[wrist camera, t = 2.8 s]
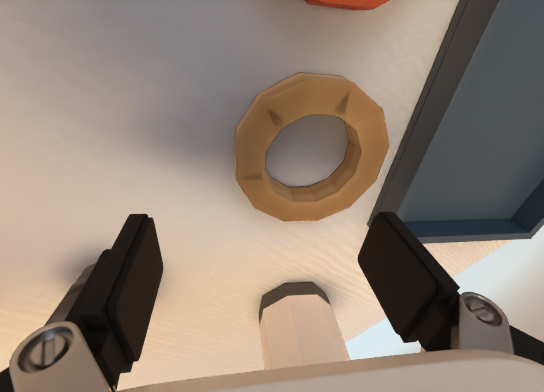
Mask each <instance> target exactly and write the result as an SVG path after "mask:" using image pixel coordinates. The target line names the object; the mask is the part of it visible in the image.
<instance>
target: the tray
mask: <svg viewBox="0 0 544 392" xmlns="http://www.w3.org/2000/svg"><path fill="white" fill-rule="evenodd" d="M381 211H392V212H394V213H396V215H397V216H398V217H399V218H400V219H401V220H402V221H403V223H404V224H405V225H406V226H407V227H408V228H409V229H410V231H411V232H412V233H413V234H414V235H415V236H416V238H417V239H418V240H419V241H420V242H421V243H422V244H424V243H446V242H468V241H491V240H513V239H531V238H532V237H533V236H534V235H535V233H536V232H537V231H538V230H539V229H540V228H541V227H542V226H543V225H544V0H460V2H459V5H458V7H457V9H456V12H455V14H454V17H453V19H452V21H451V24H450V26H449V29H448V31H447V34H446V36H445V38H444V41H443V43H442V46H441V48H440V51H439V53H438V55H437V58H436V60H435V63H434V65H433V67H432V70H431V72H430V75H429V77H428V80H427V82H426V84H425V87H424V89H423V92H422V94H421V97H420V99H419V101H418V104H417V106H416V109H415V111H414V113H413V116H412V118H411V121H410V123H409V126H408V128H407V130H406V133H405V135H404V138H403V140H402V143H401V145H400V147H399V150H398V152H397V155H396V157H395V159H394V162H393V164H392V167H391V169H390V172H389V174H388V176H387V179H386V181H385V184H384V186H383V188H382V191H381V193H380V196H379V198H378V201H377V203H376V205H375V208H374V210H373V213H372V215H371V218H370V220H369V222H368V227H369V228H370V225H371V223H372V220H373V218H374V216H375V215H377V214H378V213H379V212H381Z"/></svg>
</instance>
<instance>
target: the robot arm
mask: <svg viewBox="0 0 544 392" xmlns="http://www.w3.org/2000/svg"><path fill="white" fill-rule="evenodd" d="M358 263H359V265H360V267H361V269H362V271H363V273H364V275H365V277H366V278H367V280H368V282H369V284H370V286H371V288H372V290H373V292H374V293H375V295H376V297H377V299H378V301H379V303H380V305H381V307H382V308H383V310H384V312H385V314H386V316H387V318H388V320H389V321H390V323H391V325H392V327H393V329H394V331H395V332H396V333H397V334H398V335H400V337H401V338H402V340H403V342H404V343H408V342H416V341H417V340H418V341H419V343H420V344H421V351H420V353H413V354H402V355H393V356H384V357H375V358H366V359H357V360H348V361H339V362H330V363H321V364H313V365H304V366H295V367H287V368H278V369H269V370H261V371H253V372H244V373H236V374H228V375H219V376H211V377H203V378H195V379H188V380H181V381H174V382H166V383H159V384H152V385H146V386H141V387H136V388H130V389H125V390H121V391H117V392H544V343H543V342H542V341H539V340H537V339H536V338H534V337H532V336H530V335H528V334H526V333H524V332H522V331H520V330H518V329H516V328H514V327H512V326H511V325H509V322H508V320H507V317H506V315H505V314H504V312H503V311H502V310H501V309H500V308H499V307H498V306H497V305H496V304H495V303H494V302H492V301H491V300H489V299H488V298H486V297H484V296H482V295H480V294H477V293H473V292H465V293H462V294H461V295H460V294H459V293H458V292H457V291H458V289H459V288H460V287H459V286H458V285H457V284H456V282H455V281H454V280H453V279H452V278H451V277H450V275H449V274H448V273H447V272H446V271H445V270H444V269H443V267H442V266H441V265H440V264H439V263H438V262H437V261H436V259H435V258H434V257H433V256H432V255H431V254H430V252H429V251H428V250H427V249H426V248H425V247H424V246H423V244H422V243H421V242H420V241H419V240H418V239H417V238H416V236H415V235H414V234H413V233H412V232H411V231H410V229H409V228H408V227H407V226H406V225H405V224H404V223H403V221H402V220H401V219H400V218H399V217H398V216H397V215H396V213H394V212H392V211H381V212H379V213H378V214H377V215H375V216H374V218H373V220H372V223H371V225H370V228H369V230H368V233H367V235H366V238H365V240H364V243H363V245H362V248H361V250H360V252H359V255H358ZM162 273H163V262H162V257H161V252H160V248H159V243H158V238H157V234H156V229H155V224H154V220H153V218H149V217H148V215H147V214H130V215H129V216H128V218H127V220H126V222H125V224H124V226H123V228H122V230H121V231H120V233H119V235H118V237H117V239H116V241H115V243H114V245H113V247H112V249H106V250H104V251H103V252H102V254H101V255H100V257H99V259H98V261H97V262H96V264H95V266H94V268H93V270H92V271H91V273H90V275H89V277H88V279H87V280H86V282H85V284H84V286H83V288H82V289H81V291H80V293H79V295H78V297H77V298H76V300H75V302H74V304H73V306H72V307H71V309H70V311H69V313H68V315H67V316H66V318H65V320H64V321H59V322H55V323H51V324H48V325H46V326H44V327H42V328H39V329H38V330H36V331H35V332H33V333H32V334H30V335H29V336H28V337H27V338H26V339H25V340H24V341H22V342H21V343H20V345H19V346H18V347H17V349H16V350H15V351H14V353H13V355H12V357H11V360H10V362H9V367H8V368H6V369H5V370H3V371H2V372H0V392H116V390H115V388H114V385H115V384H116V383H117V382H118V379H119V376H120V373H127V372H131V369H132V365H133V362H135V361H138V360H139V358H140V355H141V352H142V348H143V344H144V340H145V337H146V333H147V329H148V326H149V322H150V318H151V314H152V311H153V307H154V303H155V300H156V296H157V292H158V288H159V285H160V281H161V277H162Z"/></svg>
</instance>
